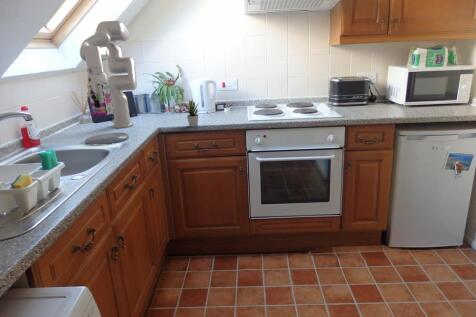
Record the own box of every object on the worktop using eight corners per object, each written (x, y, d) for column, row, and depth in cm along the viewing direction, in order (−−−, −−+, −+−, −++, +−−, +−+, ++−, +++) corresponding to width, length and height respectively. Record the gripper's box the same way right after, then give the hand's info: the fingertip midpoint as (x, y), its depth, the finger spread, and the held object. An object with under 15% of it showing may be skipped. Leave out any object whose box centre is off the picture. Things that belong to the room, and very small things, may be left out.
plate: (76, 143, 188) (76, 140, 188) (108, 134, 207) (108, 131, 206) (106, 146, 178) (105, 143, 178) (137, 136, 197) (136, 133, 196)
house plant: (178, 124, 222) (175, 98, 217) (199, 121, 227) (196, 96, 222) (184, 128, 209) (181, 100, 204) (206, 125, 214) (204, 98, 210)
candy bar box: (114, 114, 188) (109, 82, 183) (107, 115, 184) (101, 83, 179) (99, 113, 193) (94, 82, 188) (92, 115, 189) (86, 83, 184)
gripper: (87, 72, 173) (93, 109, 178) (113, 69, 187) (119, 104, 193) (76, 72, 176) (83, 109, 182) (103, 70, 191) (109, 104, 196)
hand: (101, 106), depth 187 cm, fingers closed on candy bar box, 5 cm apart
